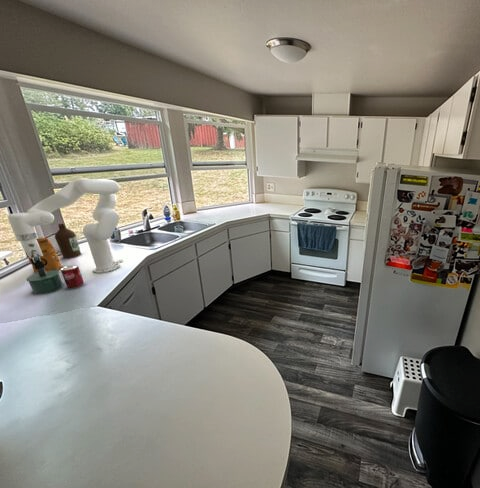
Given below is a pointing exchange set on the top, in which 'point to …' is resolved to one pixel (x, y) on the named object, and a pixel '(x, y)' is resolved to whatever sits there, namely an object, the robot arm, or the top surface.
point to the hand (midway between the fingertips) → (38, 266)
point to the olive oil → (67, 242)
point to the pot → (46, 285)
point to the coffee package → (47, 256)
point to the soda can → (72, 276)
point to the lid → (42, 275)
